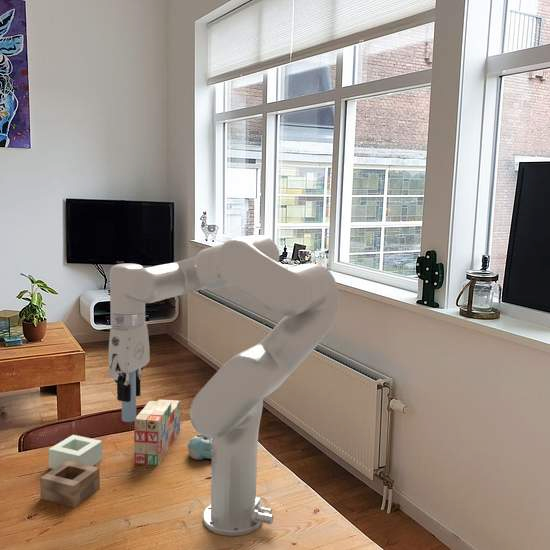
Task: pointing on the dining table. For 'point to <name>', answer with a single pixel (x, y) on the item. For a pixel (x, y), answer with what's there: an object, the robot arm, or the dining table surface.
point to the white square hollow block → (76, 451)
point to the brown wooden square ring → (70, 483)
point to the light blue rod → (130, 407)
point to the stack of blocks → (155, 431)
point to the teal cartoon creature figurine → (200, 447)
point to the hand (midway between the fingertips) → (129, 397)
